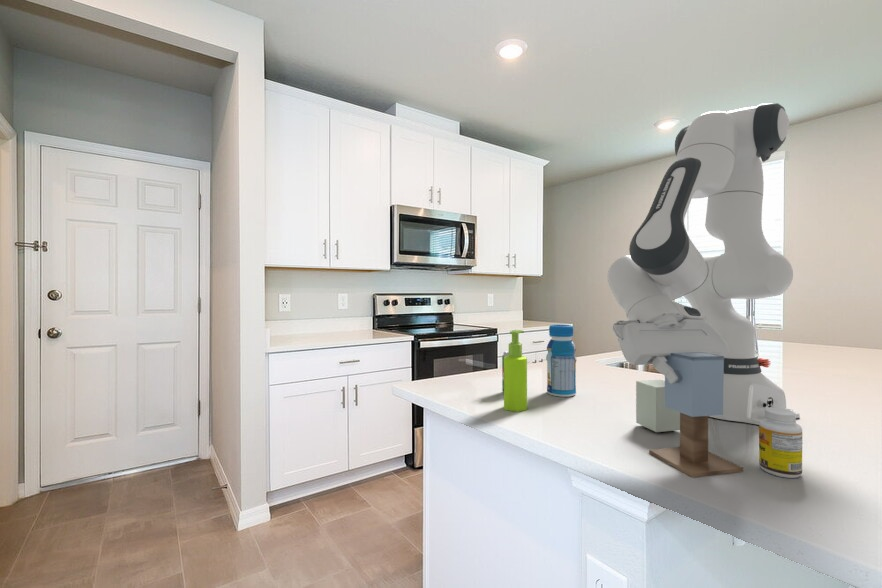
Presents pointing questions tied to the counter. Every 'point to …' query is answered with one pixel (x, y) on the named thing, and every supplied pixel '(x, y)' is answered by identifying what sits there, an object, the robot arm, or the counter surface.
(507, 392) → the soap dispenser
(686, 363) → the pale blue tall block
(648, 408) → the pale green block
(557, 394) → the beverage bottle
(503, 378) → the soda can
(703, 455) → the post
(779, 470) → the supplement bottle
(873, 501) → the counter surface
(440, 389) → the counter surface
